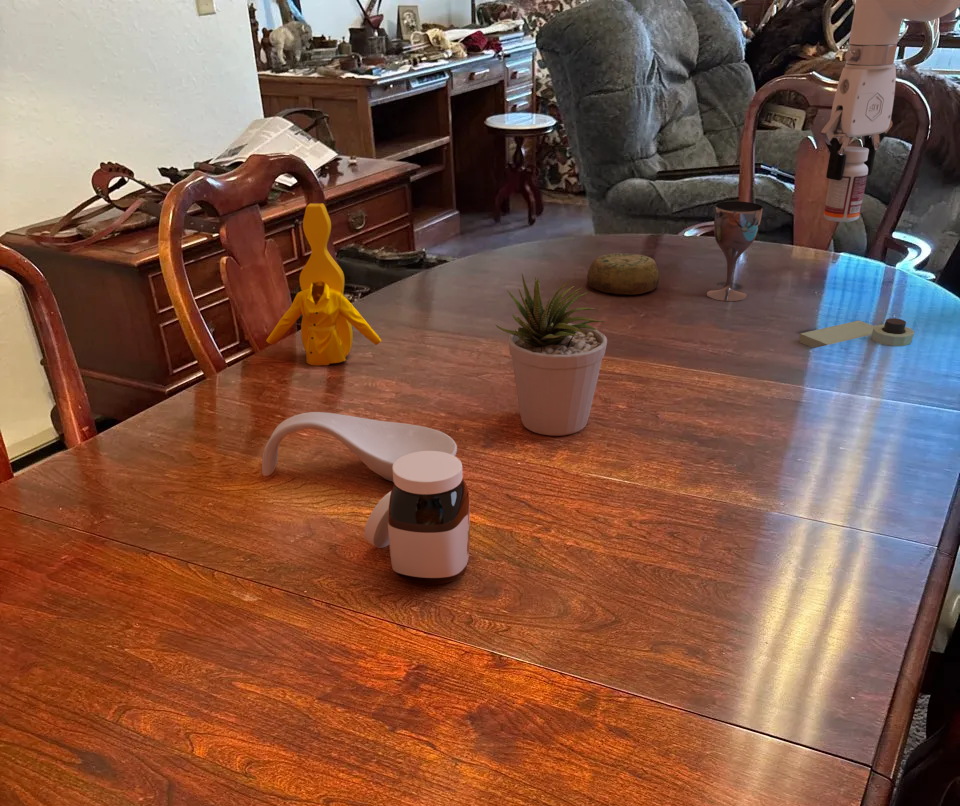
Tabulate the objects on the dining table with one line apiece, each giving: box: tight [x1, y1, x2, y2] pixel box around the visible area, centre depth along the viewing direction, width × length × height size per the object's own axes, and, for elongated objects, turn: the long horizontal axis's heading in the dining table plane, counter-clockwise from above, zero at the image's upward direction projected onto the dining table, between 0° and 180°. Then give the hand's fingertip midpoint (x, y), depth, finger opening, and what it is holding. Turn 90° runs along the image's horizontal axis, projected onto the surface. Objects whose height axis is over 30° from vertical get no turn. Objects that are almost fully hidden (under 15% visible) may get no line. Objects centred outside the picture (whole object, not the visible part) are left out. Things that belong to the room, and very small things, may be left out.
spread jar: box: [363, 451, 471, 586], centre depth 97 cm, size 12×11×12 cm
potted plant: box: [495, 273, 608, 437], centre depth 123 cm, size 13×14×20 cm
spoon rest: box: [261, 411, 458, 483], centre depth 115 cm, size 24×12×7 cm, turn 89°
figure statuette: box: [265, 202, 383, 367], centre depth 142 cm, size 18×8×22 cm, turn 87°
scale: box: [798, 320, 915, 349], centre depth 150 cm, size 13×12×3 cm
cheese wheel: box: [586, 252, 660, 296], centre depth 177 cm, size 14×14×5 cm
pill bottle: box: [823, 145, 869, 223], centre depth 168 cm, size 6×6×11 cm
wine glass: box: [706, 200, 764, 302], centre depth 169 cm, size 8×8×15 cm
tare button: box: [883, 317, 907, 334], centre depth 148 cm, size 3×3×2 cm
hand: (848, 175), depth 167 cm, fingers closed on pill bottle, 6 cm apart
